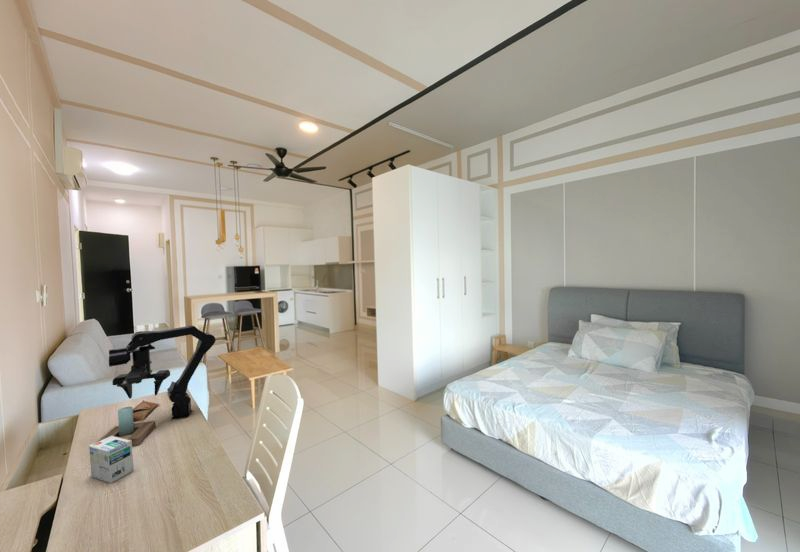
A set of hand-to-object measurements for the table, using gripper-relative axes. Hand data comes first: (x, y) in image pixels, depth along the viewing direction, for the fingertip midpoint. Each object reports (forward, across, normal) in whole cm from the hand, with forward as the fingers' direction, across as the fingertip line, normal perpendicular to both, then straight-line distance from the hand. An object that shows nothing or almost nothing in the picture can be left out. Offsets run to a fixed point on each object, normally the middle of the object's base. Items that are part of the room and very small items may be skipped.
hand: (143, 396), depth 133 cm
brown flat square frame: (+13, -2, -10) cm, 17 cm away
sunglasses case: (+14, -7, +15) cm, 21 cm away
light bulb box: (+13, +5, -34) cm, 37 cm away
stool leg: (+13, -2, -10) cm, 16 cm away
